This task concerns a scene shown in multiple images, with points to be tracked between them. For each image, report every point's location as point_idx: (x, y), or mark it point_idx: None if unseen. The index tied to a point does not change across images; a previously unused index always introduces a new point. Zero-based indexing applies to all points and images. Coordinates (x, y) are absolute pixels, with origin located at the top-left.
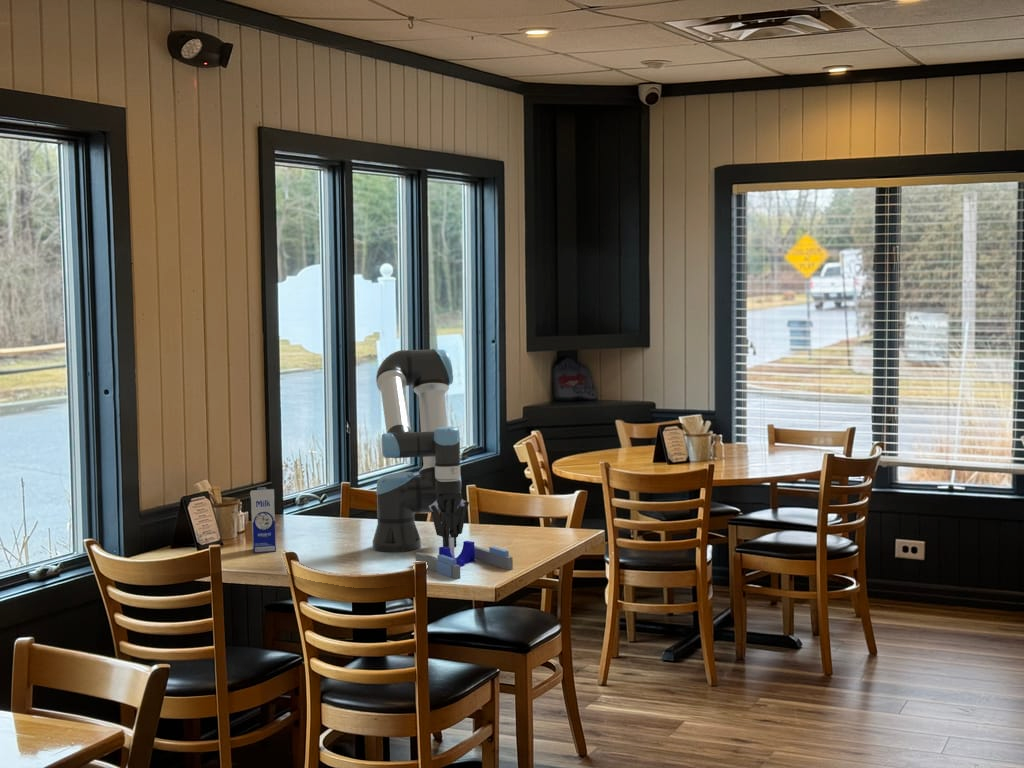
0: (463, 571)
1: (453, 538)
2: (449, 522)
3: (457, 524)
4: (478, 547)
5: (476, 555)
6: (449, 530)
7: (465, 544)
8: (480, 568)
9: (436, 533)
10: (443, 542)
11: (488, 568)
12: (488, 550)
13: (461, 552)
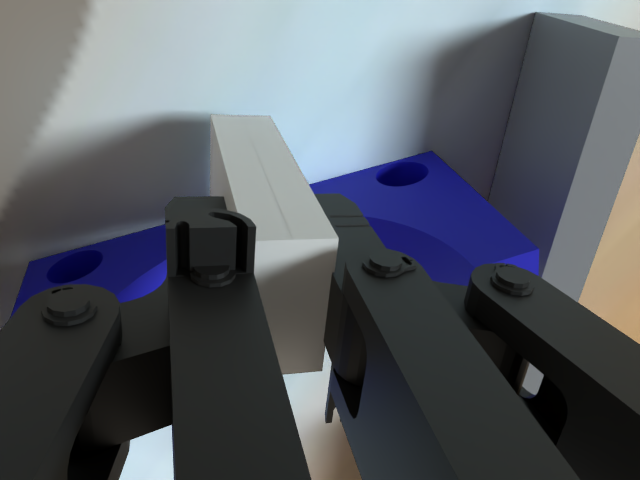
0: (149, 468)
1: (310, 361)
2: (437, 469)
3: (567, 437)
4: (592, 232)
5: (509, 217)
6: (368, 315)
7: (458, 280)
8: (307, 444)
9: (11, 321)
10: (166, 256)
11: (348, 465)
12: (536, 388)
13: (377, 225)
